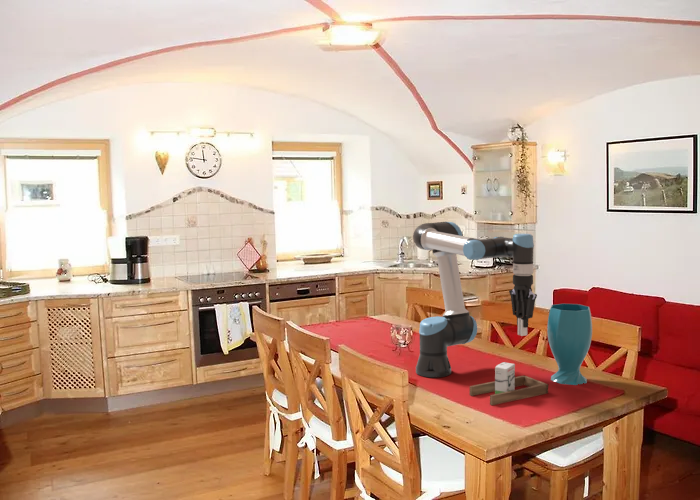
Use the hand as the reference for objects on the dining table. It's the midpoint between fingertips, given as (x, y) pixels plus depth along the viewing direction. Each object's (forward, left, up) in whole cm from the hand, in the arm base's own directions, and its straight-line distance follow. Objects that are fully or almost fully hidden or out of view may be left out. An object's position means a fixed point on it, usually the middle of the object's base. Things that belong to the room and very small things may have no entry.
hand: (522, 334), depth 255 cm
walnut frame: (0, -7, -22) cm, 23 cm away
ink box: (0, -9, -23) cm, 24 cm away
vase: (-2, +26, -23) cm, 35 cm away
